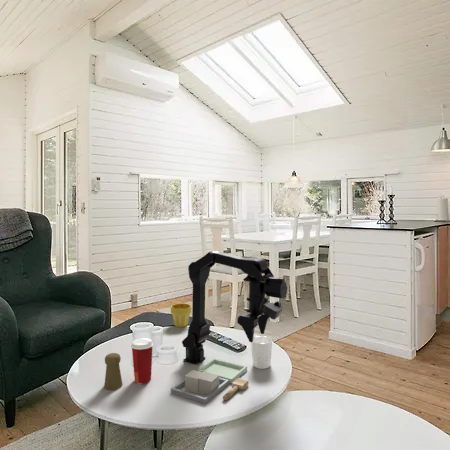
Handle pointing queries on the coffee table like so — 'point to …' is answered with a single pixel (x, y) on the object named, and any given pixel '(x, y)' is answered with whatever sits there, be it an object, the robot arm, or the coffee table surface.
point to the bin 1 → (195, 397)
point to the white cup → (261, 351)
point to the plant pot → (181, 314)
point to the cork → (112, 372)
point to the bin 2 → (224, 369)
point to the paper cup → (142, 360)
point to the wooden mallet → (236, 387)
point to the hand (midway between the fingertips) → (256, 337)
